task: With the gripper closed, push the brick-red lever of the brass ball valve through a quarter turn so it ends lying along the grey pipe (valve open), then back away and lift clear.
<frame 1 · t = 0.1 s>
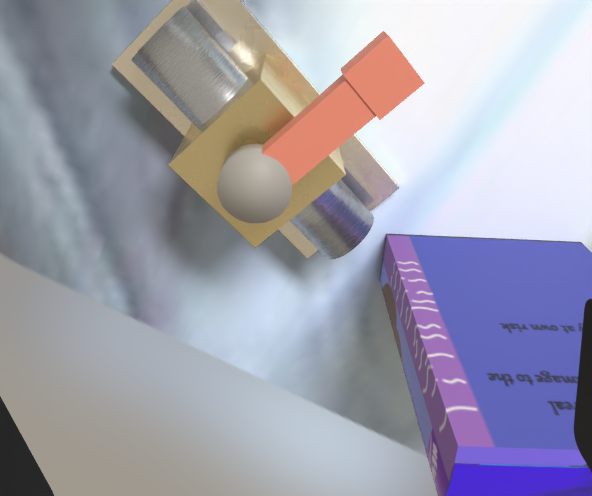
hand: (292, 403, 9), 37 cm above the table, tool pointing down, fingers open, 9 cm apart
valve body: (264, 126, 44), on the table
cereal box: (477, 260, 51), on the table
lever: (311, 136, 32), point 12 cm above the table, hinge at 90.0°
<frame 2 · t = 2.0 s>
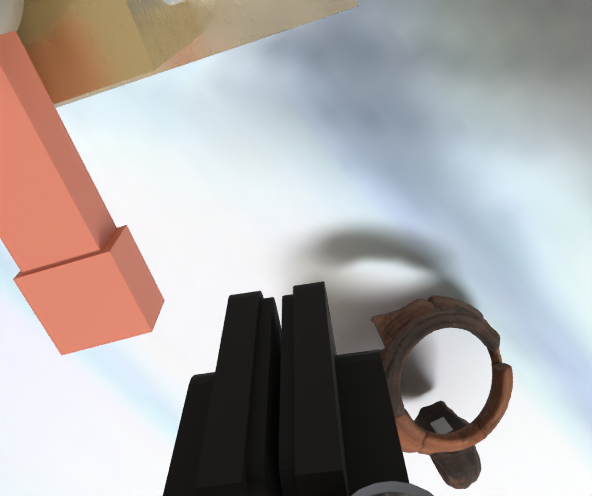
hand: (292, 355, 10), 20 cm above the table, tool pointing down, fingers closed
lever: (10, 143, 16), point 12 cm above the table, hinge at 90.0°
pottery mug: (413, 357, 35), on the table
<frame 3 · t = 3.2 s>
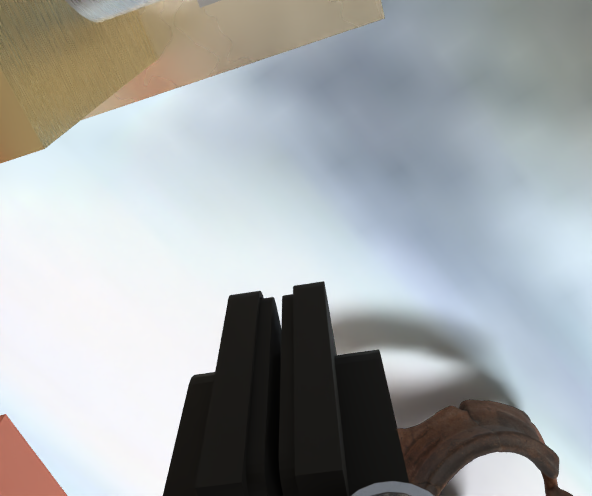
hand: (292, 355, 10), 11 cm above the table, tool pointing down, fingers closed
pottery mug: (435, 460, 28), on the table
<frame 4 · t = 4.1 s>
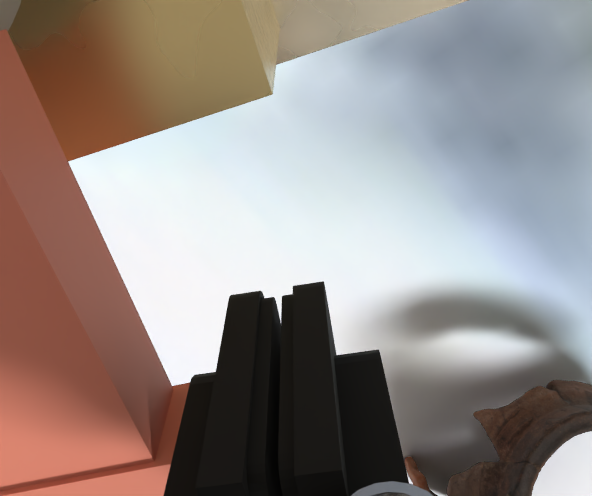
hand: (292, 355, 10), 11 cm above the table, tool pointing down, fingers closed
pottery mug: (508, 444, 27), on the table
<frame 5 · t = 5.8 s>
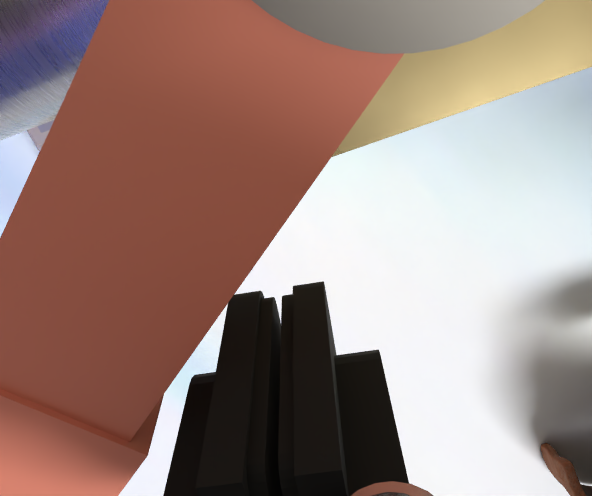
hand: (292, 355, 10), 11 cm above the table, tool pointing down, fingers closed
lever: (175, 170, 7), point 12 cm above the table, hinge at 37.1°, touching gripper
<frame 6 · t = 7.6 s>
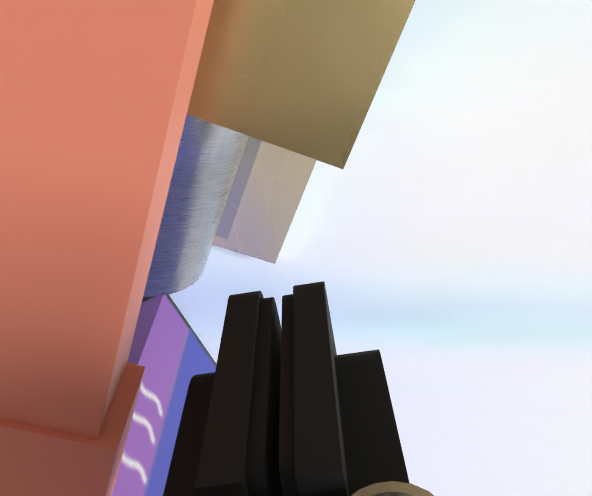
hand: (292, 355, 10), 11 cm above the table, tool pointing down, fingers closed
cereal box: (219, 445, 27), on the table
lever: (55, 163, 7), point 12 cm above the table, hinge at 2.0°
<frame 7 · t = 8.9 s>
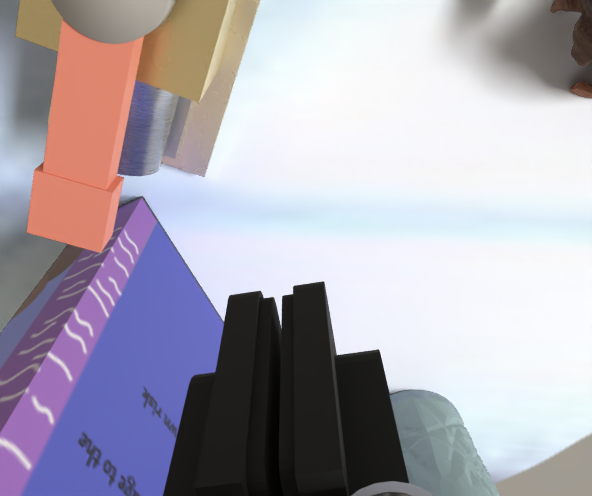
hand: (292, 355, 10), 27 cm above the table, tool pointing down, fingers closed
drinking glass: (412, 423, 48), on the table
cereal box: (178, 304, 42), on the table
lever: (94, 92, 22), point 12 cm above the table, hinge at 2.0°
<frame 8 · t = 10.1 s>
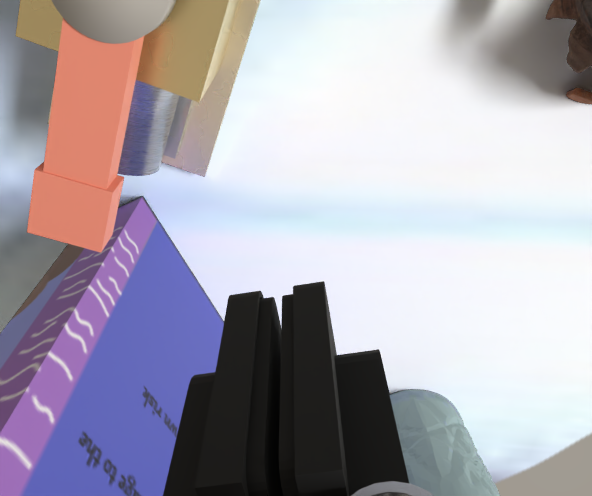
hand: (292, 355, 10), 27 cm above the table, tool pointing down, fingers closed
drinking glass: (412, 423, 48), on the table
cereal box: (178, 304, 42), on the table
lever: (94, 92, 22), point 12 cm above the table, hinge at 2.0°
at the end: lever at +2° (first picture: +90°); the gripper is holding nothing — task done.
